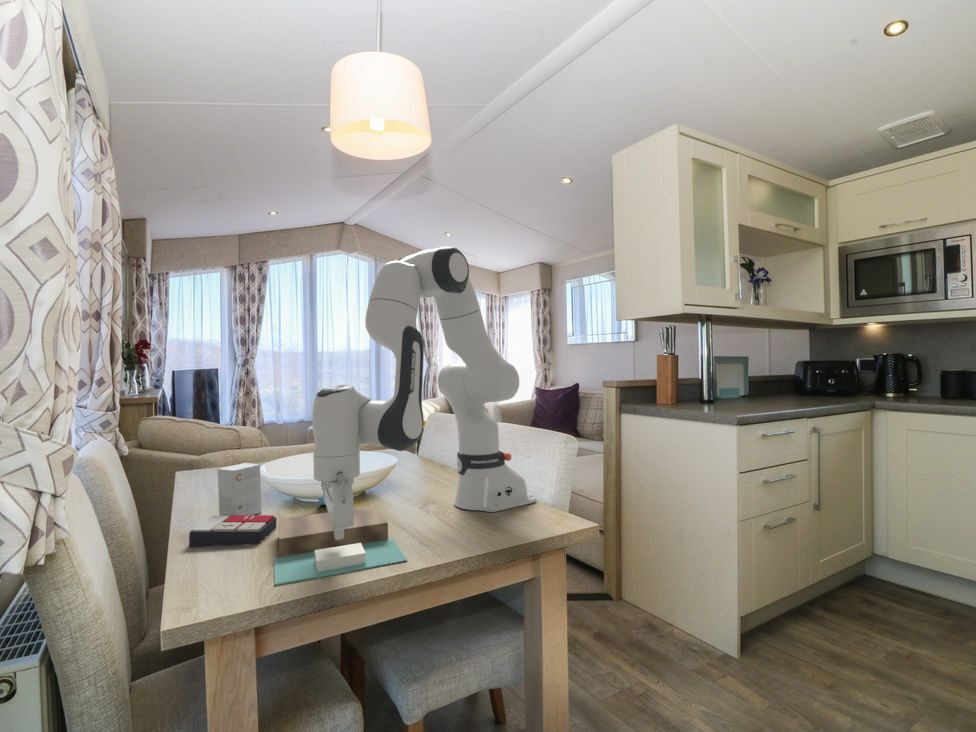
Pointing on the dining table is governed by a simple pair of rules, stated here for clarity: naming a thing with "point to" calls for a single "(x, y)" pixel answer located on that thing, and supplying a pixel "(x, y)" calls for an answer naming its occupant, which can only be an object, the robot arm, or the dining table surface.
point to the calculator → (232, 530)
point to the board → (329, 531)
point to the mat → (305, 568)
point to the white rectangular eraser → (339, 557)
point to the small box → (239, 490)
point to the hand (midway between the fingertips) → (338, 537)
